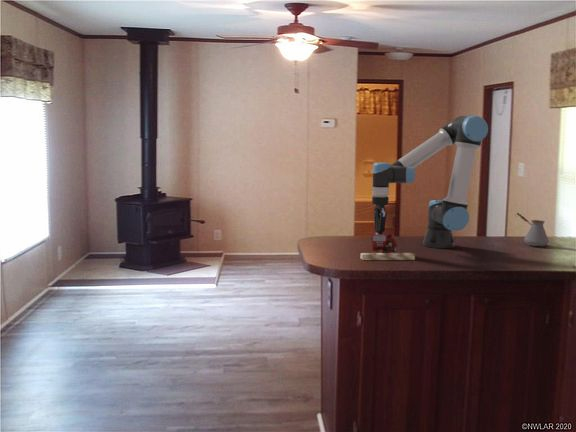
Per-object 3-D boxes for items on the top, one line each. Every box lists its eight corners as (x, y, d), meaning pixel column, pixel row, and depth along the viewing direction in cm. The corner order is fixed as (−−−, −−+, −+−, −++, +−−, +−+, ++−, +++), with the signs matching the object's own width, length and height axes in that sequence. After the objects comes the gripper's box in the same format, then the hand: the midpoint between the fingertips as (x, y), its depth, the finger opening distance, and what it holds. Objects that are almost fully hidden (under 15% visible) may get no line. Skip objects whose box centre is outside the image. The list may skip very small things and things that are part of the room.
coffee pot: (553, 247, 302) (555, 218, 299) (535, 248, 298) (537, 218, 295) (522, 239, 321) (525, 212, 319) (505, 240, 317) (507, 212, 315)
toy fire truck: (399, 257, 267) (400, 235, 266) (373, 258, 265) (374, 235, 263) (393, 254, 274) (394, 232, 272) (367, 255, 271) (368, 232, 270)
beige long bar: (412, 258, 267) (412, 252, 266) (414, 259, 264) (415, 253, 263) (360, 258, 263) (360, 252, 263) (362, 260, 260) (362, 254, 260)
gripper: (368, 194, 282) (367, 243, 285) (376, 197, 269) (375, 248, 272) (383, 194, 283) (382, 243, 286) (392, 197, 270) (391, 248, 273)
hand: (379, 245), depth 279 cm, fingers closed
